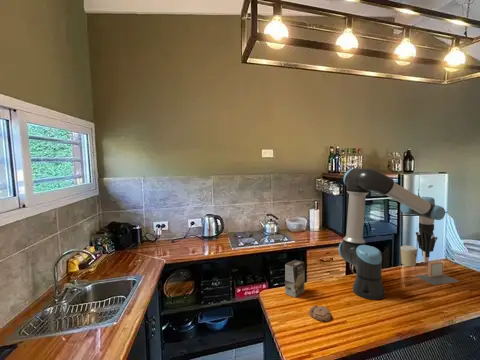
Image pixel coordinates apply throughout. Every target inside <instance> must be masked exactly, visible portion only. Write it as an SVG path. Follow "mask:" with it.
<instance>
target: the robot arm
mask: <svg viewBox="0 0 480 360" xmlns="http://www.w3.org/2000/svg"><path fill="white" fill-rule="evenodd" d="M343 183H344V185H345V187H346V192H347V194H348V204H347V206H348V207H347V216H346V217H347V219H346V233H345V236H344V237H343V238H342V241H341V243H339V245H338V254H339V256H340V258H342V259H343V260H344V261H345V262H347V263H349V264H351V265H352V266H353V267H354V268H356V276H355V279H354V282H353V284H352V292H353V293H354V294H355V295H356V296H358V297H360V298H363V299H367V300H377V301H378V300H382V299H384V298H385V296H386V290H385V288H384V287H385V286H384V285H383V281H382V266H383V265H382V264H383V262H382V261H383V257H382V252H381V250H380V249H378V248H377V247H375V246H371V245H367V244H366V240H365V239H364V237H363V235H364V225H365V224H364V222H365V221H364V220H365V211H366V210H365V208H366V196H367V195H368V194H369V193H370V192H373V193H378V194H379V195H382V196H387V197H389V198H391V199H392V200H395V201H396V202H398V203H400V207H399V209H400V211H401V213H402V214H403V215H406V216H407V215H408V216H410V215H411V216H413V215H414V216H417V217H418V229H419V230H418V231H417V232H415V235H416V239H417V245H418V248H419V249H421V256H422V263H428V262H430V261H429V258H430V254H431V252H434V250H435V246H436V242H437V240H438V237H437V236H435V233H434V230H435V220H436V221H441V220H443V219H444V218H445V216H446V210H445V208H444V207H443V206H441V205H436V202H435V198H434V197H432V196H431V197H430V196H419V195H417V194H415V193H413V192H412V191H410V190H408V189H406V188H405V187H403V186H401V185H399V184H398V183H396V182H395V180H394V179H393V178H391V177H390V176H388V175H386V174H384V173H383V172H380V171H379V170H377V169H375V168H369V167H368V168H365V167H364V168H362V167H353V168H349V169H348V170H347V171H346V172H345V174H344V175H343Z"/></svg>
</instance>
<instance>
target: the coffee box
mask: <svg viewBox="0 0 480 360" xmlns="http://www.w3.org/2000/svg"><path fill="white" fill-rule="evenodd" d="M284 267H285V269H284V271H285V272H284V275H285V276H284V281H285V282H284V283H285V285H284V287H285V288H284V293H285V295H287V296H290V297H292V298H297V297H298V296H300V295H301V294H303V293H305V288H306V287H305V284H306V282H305V281H306V280H305V279H306V277H305V276H306V275H305V274H306V273H305V269H306V268H305V261H301V260H297V259H294V260H292V261H291V260H290V261H289V262H286V263H285V265H284Z"/></svg>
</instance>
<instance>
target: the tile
mask: <svg viewBox="0 0 480 360" xmlns="http://www.w3.org/2000/svg"><path fill="white" fill-rule="evenodd" d="M443 270H444V262H442V261H440V260H439V261H429V262H427V274H428V276H429V277H438V276H443V274H444V273H443V272H444V271H443Z"/></svg>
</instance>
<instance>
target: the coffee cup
mask: <svg viewBox="0 0 480 360" xmlns="http://www.w3.org/2000/svg"><path fill="white" fill-rule="evenodd" d="M417 257H418V248H417V247H416V246H413V245H401V246H400V262H401V265H403V266H406V267H416V266H417Z"/></svg>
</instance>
